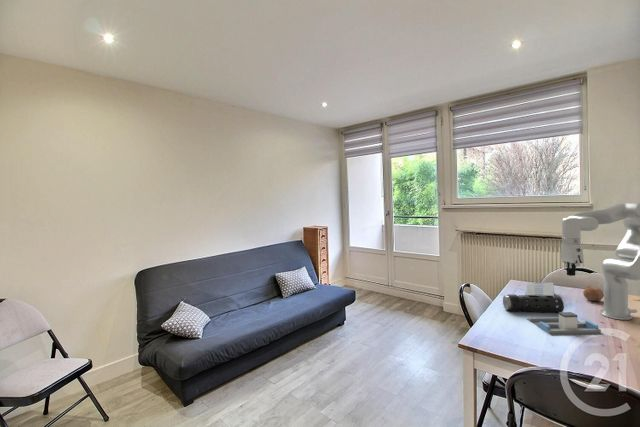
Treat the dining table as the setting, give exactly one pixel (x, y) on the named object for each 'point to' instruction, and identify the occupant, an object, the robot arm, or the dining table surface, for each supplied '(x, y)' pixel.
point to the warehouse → (540, 289)
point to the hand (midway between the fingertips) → (571, 275)
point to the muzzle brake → (533, 303)
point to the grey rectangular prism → (567, 320)
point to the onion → (593, 294)
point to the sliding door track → (553, 329)
